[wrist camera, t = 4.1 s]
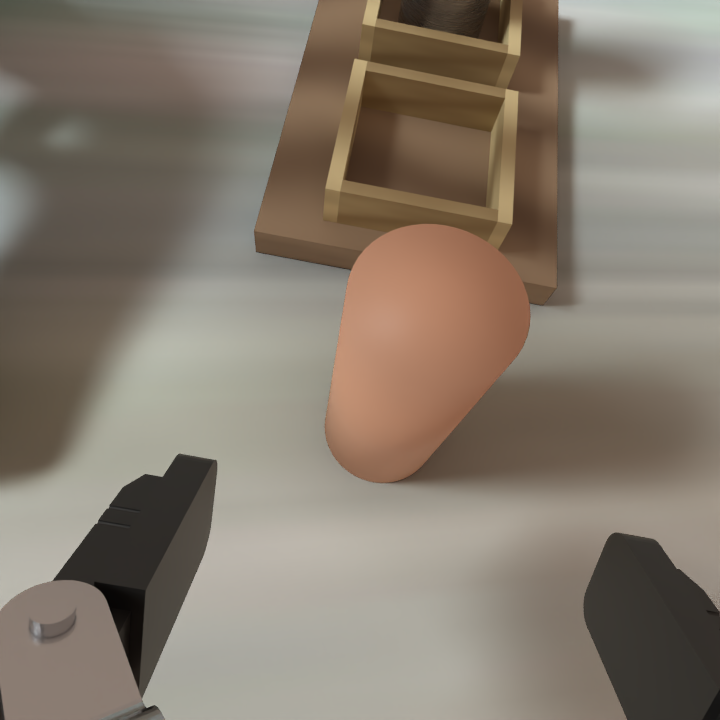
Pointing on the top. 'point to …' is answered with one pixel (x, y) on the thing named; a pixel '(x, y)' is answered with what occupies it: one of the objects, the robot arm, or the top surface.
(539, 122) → the wooden compartment tray
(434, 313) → the pin
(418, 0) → the pin
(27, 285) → the top surface
